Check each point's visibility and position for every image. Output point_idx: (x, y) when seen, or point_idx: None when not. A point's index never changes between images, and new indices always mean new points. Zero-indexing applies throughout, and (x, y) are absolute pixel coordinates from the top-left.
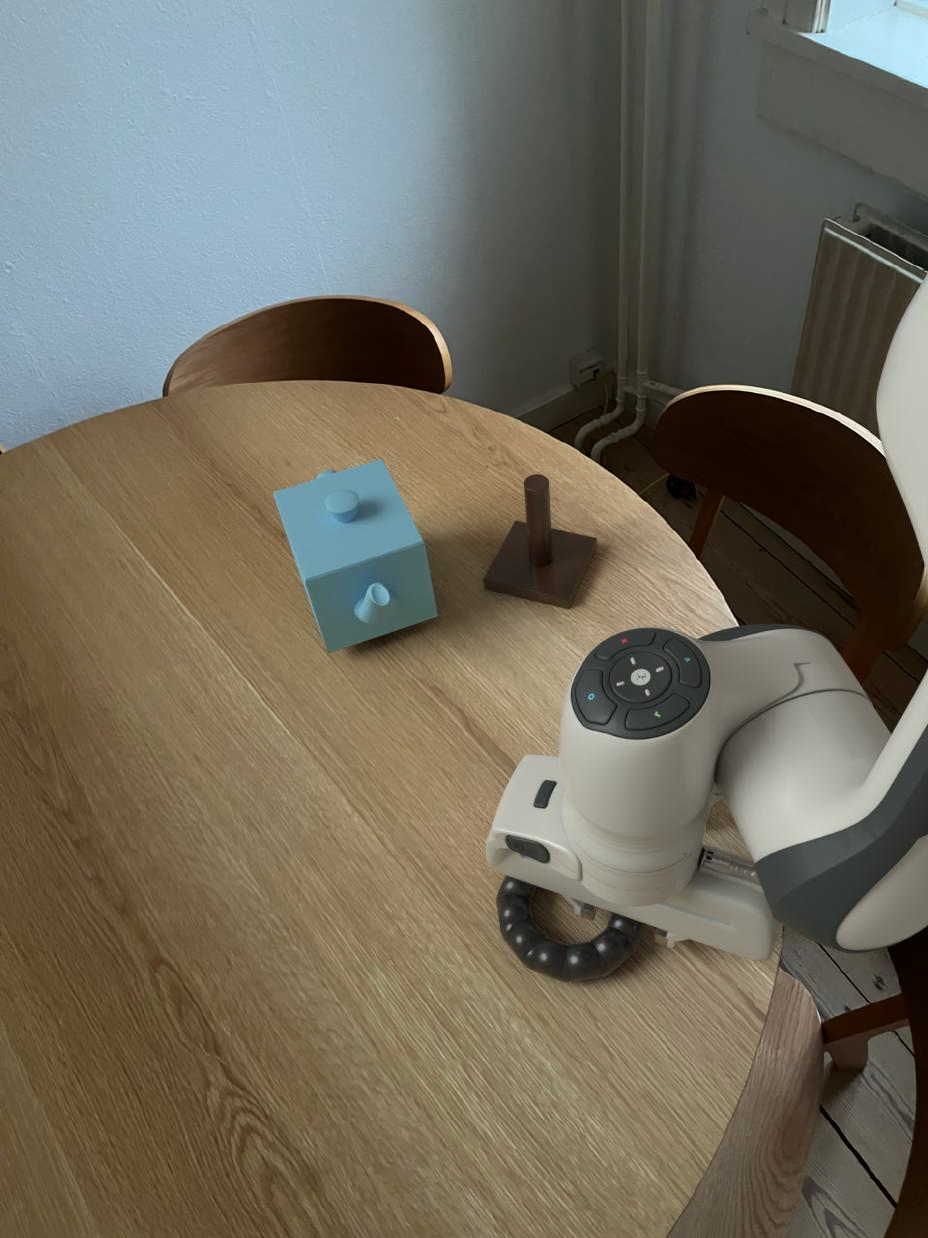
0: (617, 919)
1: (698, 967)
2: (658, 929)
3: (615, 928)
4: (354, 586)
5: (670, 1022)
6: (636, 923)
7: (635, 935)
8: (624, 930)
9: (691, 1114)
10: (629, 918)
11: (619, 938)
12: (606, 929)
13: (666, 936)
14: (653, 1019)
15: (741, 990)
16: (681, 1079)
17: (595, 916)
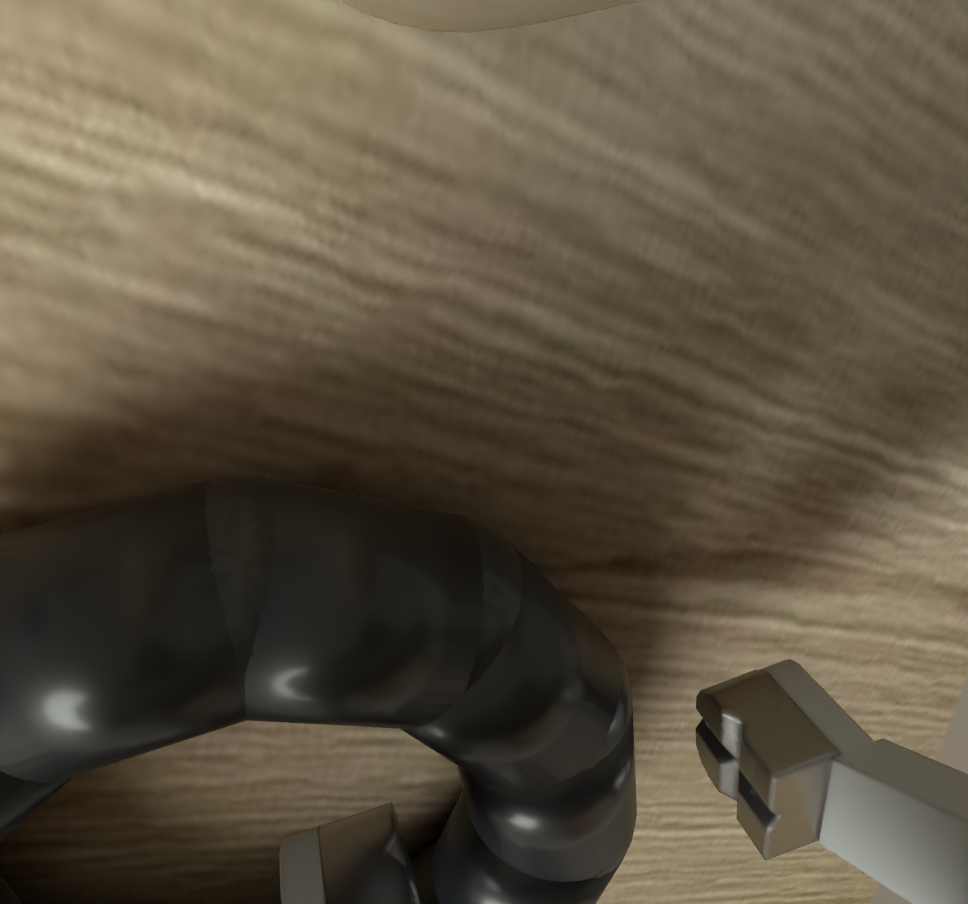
0: (534, 846)
1: (807, 613)
2: (775, 835)
3: (546, 880)
4: None
5: None
6: (624, 799)
7: (631, 819)
8: (593, 870)
9: (839, 875)
10: (592, 821)
11: (584, 897)
12: (496, 877)
13: (822, 840)
14: (705, 809)
15: (946, 585)
16: (807, 848)
17: (406, 849)
